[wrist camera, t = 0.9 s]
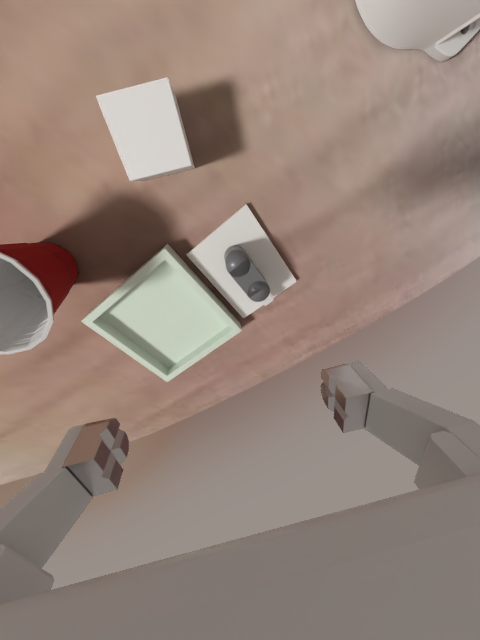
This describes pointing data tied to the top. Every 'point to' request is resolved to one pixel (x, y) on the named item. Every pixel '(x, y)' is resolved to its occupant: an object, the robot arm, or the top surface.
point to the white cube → (147, 130)
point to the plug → (247, 275)
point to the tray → (164, 316)
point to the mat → (258, 247)
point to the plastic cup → (31, 292)
